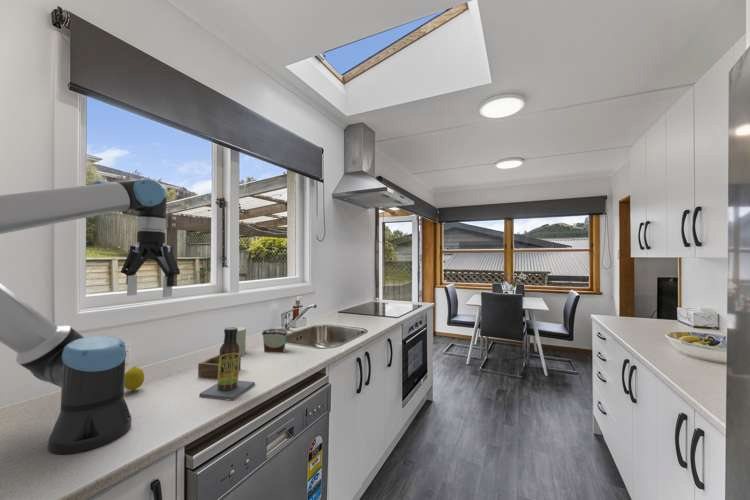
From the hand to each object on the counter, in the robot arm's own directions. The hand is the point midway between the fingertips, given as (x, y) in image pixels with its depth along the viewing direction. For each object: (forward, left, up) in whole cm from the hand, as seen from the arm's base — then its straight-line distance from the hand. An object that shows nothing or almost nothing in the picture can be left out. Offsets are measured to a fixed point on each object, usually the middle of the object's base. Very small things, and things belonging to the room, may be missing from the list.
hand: (149, 296), depth 100 cm
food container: (+52, -18, -32) cm, 64 cm away
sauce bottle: (+8, -24, -31) cm, 40 cm away
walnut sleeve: (+21, -11, -32) cm, 40 cm away
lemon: (+1, +6, -32) cm, 32 cm away
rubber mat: (+8, -24, -32) cm, 41 cm away
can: (+43, -2, -32) cm, 54 cm away
